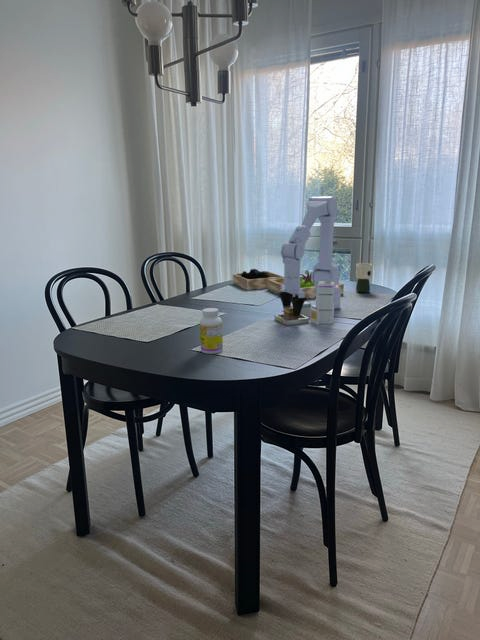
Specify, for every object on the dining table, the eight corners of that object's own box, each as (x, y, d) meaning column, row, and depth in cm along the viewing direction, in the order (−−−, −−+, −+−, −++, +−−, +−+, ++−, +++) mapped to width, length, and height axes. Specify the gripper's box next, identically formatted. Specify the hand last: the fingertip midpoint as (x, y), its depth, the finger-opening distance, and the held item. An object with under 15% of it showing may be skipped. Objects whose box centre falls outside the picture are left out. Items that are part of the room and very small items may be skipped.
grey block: (305, 313, 184) (305, 301, 182) (310, 316, 180) (311, 303, 179) (295, 314, 182) (296, 302, 181) (301, 317, 179) (301, 304, 177)
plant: (279, 295, 217) (279, 271, 214) (294, 287, 234) (295, 265, 231) (321, 299, 208) (321, 274, 205) (334, 291, 225) (335, 267, 222)
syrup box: (333, 324, 168) (334, 284, 165) (316, 323, 170) (317, 283, 166) (333, 320, 174) (335, 281, 170) (317, 319, 175) (318, 280, 171)
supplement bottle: (200, 347, 146) (199, 307, 142) (222, 347, 146) (221, 306, 143) (200, 355, 139) (199, 312, 136) (223, 354, 140) (222, 311, 136)
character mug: (367, 295, 213) (369, 266, 210) (352, 293, 216) (353, 265, 213) (373, 290, 223) (374, 262, 219) (357, 289, 226) (359, 262, 222)
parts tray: (296, 316, 179) (296, 312, 179) (309, 322, 171) (309, 317, 170) (274, 319, 176) (274, 315, 175) (285, 325, 167) (286, 320, 167)
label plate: (311, 321, 172) (311, 308, 171) (318, 324, 168) (319, 311, 167) (309, 321, 172) (310, 308, 171) (317, 325, 168) (317, 311, 166)
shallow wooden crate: (267, 280, 253) (267, 270, 251) (284, 286, 235) (284, 276, 234) (232, 283, 246) (232, 273, 244) (247, 290, 228) (247, 280, 227)
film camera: (273, 285, 240) (273, 267, 238) (267, 288, 232) (267, 270, 229) (245, 283, 246) (245, 266, 243) (238, 287, 237) (238, 269, 235)
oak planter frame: (313, 285, 238) (314, 275, 236) (343, 294, 215) (343, 283, 213) (267, 289, 228) (267, 279, 227) (293, 300, 205) (293, 289, 204)
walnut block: (293, 318, 176) (293, 305, 174) (298, 321, 172) (299, 307, 171) (283, 319, 174) (283, 306, 173) (288, 322, 171) (289, 308, 169)
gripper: (273, 274, 174) (273, 310, 178) (292, 280, 161) (291, 319, 165) (290, 272, 177) (289, 308, 180) (310, 279, 164) (309, 317, 167)
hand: (291, 313), depth 173 cm, fingers open, 7 cm apart
